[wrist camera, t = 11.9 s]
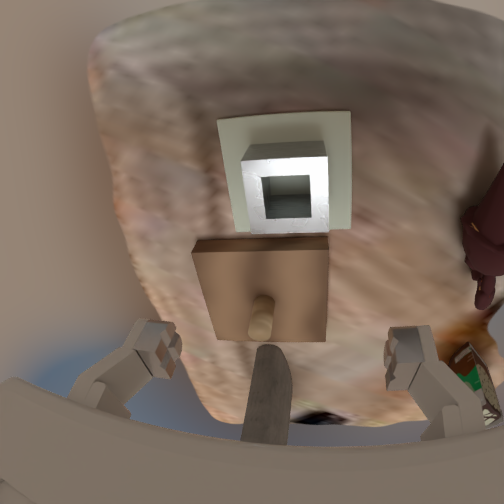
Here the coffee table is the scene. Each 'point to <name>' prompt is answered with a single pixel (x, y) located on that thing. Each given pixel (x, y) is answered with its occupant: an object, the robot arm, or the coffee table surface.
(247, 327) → the peg stand
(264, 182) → the collar
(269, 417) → the hip flask
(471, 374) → the food container
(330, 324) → the coffee table surface
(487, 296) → the icecream
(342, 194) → the pad
